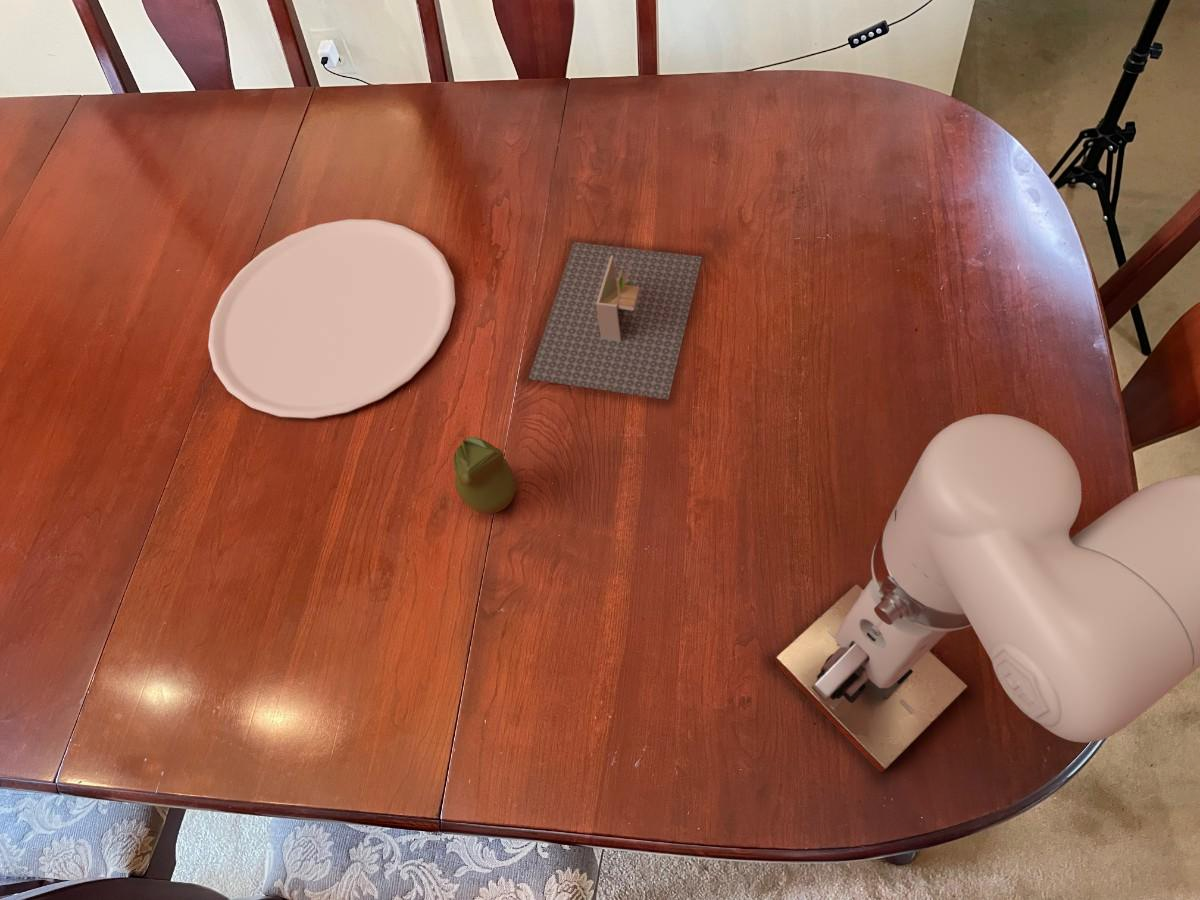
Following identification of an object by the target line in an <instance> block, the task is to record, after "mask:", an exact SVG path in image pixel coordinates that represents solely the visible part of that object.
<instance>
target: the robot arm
mask: <svg viewBox="0 0 1200 900" xmlns="http://www.w3.org/2000/svg"><path fill="white" fill-rule="evenodd" d="M1082 496H1083V495H1082V482H1081V477H1080V473H1079V470H1078V467H1077V465H1076V463H1075V461H1074V459H1073V457H1072V456H1071V455H1070V453H1069V452H1068V450H1067V448H1065V447H1064V445H1063V444H1062V443H1061V442H1060V441H1059V440H1058V439H1057V438H1056V437H1054V436H1053V435H1052V434H1051V433H1049V431H1047V430H1045V429H1044V428H1042V427H1040V426H1039V425H1037V424H1035V423H1033V422H1031V421H1028V420H1026V419H1023V418H1019V417H1016V416H1014V415H1007V414H1002V413H1001V414H998V413H984V414H976V415H972V416H967V417H964V418H962V419H959V420H957V421H955V422H952V423H951V424H949V425H948V426H946V427H944V428H943V429H941V431H939V432H938V433H937V434H936V435H934V437H933V438H932V439H931V440H930V442H929V443H928V444H927V446H926V448H925V449H924V451H923V452H922V453H921V456H920V458H919V459H918V461H917V463H916V465H915V467H914V469H913V471H912V473H911V475H910V477H909V479H908V481H907V483H906V484H905V487H904V489H903V490H902V492H901V494H900V496H899V497H898V500H897V502H896V504H895V505H894V508H893V510H892V512H891V514H890V516H889V517H888V518H887V519H888V520H887V521H886V524H885V525H884V528H883V530H882V532H881V534H880V535H879V538H878V539H877V541H876V542H875V545H874V547H873V550H872V554H871V558H870V571H871V577H872V578H871V579H870V581H868V583H867V585H866V586H865V588H864V589H863V591H862V592H861V595H860V596H859V598H858V599H857V601H856V602H855V604H854V605H853V607H852V608H851V610H850V611H849V613H848V614H847V616H846V618H845V619H844V621H843V623H842V624H841V626H840V628H839V630H838V632H837V636H836V643H837V646H838V647H839V646H840V648H839V649H838V650H837V651H836V652H835V653H834V654H831V655H830V656H829V657H828V658H827V660H826V662H825V664H824V665H823V666H822V669H821V673H820V674H818V676H817V678H818V679H817V680H816V683H815V684H814V685H813V686H812V687H811V688H812V689H813V690H814V691H815V692H816V693H817V694H818V695H819V696H820V697H821V698H822V699H823V700H824V701H826V700H828V699H829V698H831V699H832V700H834V699H836V698H837V699H839V698H841V697H842V696H844V697H845V698H846V699H847V700H848V701H849V702H850V703H853V702H854V701H855V700H856V699H857V698H858V697H859V696H860V694H861V693H862V692H863V691H864V689H865V688H866V687H865V686H866V684H865V682H866V681H867V680H868V679H870V680H871V681H872V682H873V683H874V684H875V685H877V686H878V687H879V688H889V687H891V686H892V685H893V684H894V683H896V682H897V681H898V680H899V679H900V678H901V677H902V676H903V675H904V674H905V673H906V672H907V671H909V670H910V669H911V668H912V667H913V666H914V665H915V664H916V663H917V662H918V661H919V660H920V659H921V658H922V657H923V656H924V655H925V654H926V653H927V652H928V651H931V650H932V649H933V648H934V647H935V646H936V645H937V644H938V643H939V642H940V641H941V640H942V639H944V637H945V636H946V635H947V634H948V633H949V632H955V631H960V630H963V629H966V628H969V627H972V628H973V629H972V630H973V631H974V632H975V634H976V636H977V637H978V639H979V641H980V643H981V645H982V646H983V648H984V650H985V652H986V653H987V655H988V658H989V659H990V661H991V664H992V668H993V671H994V674H995V675H996V678H997V680H998V682H999V684H1000V685H1001V687H1002V689H1003V690H1004V692H1005V694H1006V695H1007V696H1008V697H1009V699H1010V700H1011V701H1012V702H1013V704H1014V705H1015V706H1016V707H1017V708H1018V709H1019V710H1020V711H1021V712H1022V713H1023V714H1024V715H1026V716H1027V717H1028V718H1030V719H1031V720H1033V721H1034V722H1036V723H1038V724H1039V725H1040V726H1041V727H1043V728H1044V729H1045V730H1047V731H1049V732H1050V733H1052V734H1054V736H1057V737H1059V738H1062V739H1064V740H1067V741H1069V742H1074V743H1083V744H1088V743H1095V742H1099V741H1102V740H1105V739H1108V738H1110V737H1112V736H1114V735H1115V734H1117V733H1118V732H1120V731H1122V730H1124V729H1125V728H1126V727H1127V726H1129V725H1130V724H1131V723H1133V722H1134V721H1135V720H1136V719H1138V718H1139V717H1140V716H1142V715H1143V714H1144V713H1145V712H1146V711H1148V710H1149V709H1150V708H1151V707H1153V706H1154V705H1155V704H1156V703H1157V702H1159V700H1161V699H1162V698H1163V697H1165V696H1166V695H1167V694H1168V693H1169V692H1171V691H1172V690H1173V689H1174V688H1176V686H1178V685H1180V683H1181V682H1183V681H1184V680H1185V679H1186V678H1187V677H1189V676H1190V675H1191V674H1192V673H1194V672H1195V671H1196V670H1197V669H1198V668H1200V473H1196V474H1186V475H1180V476H1176V477H1172V478H1171V477H1170V478H1167V479H1163V480H1159V481H1156V482H1154V483H1151V484H1149V485H1147V486H1145V487H1143V488H1141V489H1139V490H1137V491H1135V492H1134V493H1132V494H1131V495H1129V496H1128V497H1126V498H1125V499H1123V500H1122V501H1121V502H1119V503H1118V504H1117V505H1115V506H1113V507H1112V508H1110V509H1109V510H1107V511H1106V512H1105V513H1103V514H1102V515H1101V516H1099V517H1097V518H1096V519H1095V520H1093V522H1091V523H1089V524H1088V525H1087V526H1085V527H1084V528H1083V529H1082V530H1080V531H1079V532H1078V533H1076V534H1074V535H1073V536H1072V537H1070V531H1071V529H1072V527H1073V525H1074V524H1075V522H1076V520H1077V517H1078V515H1079V511H1080V508H1081V503H1082ZM859 667H861V668H862V669H863V670H864V671H863V672H862V673H861V675H860V676H858V675H857V674H856V673H855V671H856V670H857V669H858V668H859Z"/></svg>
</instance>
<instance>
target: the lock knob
mask: <svg viewBox="0 0 1200 900" xmlns="http://www.w3.org/2000/svg"><path fill="white" fill-rule="evenodd" d="M857 671H858V672H859V673H860V674H861V673H862V672H863V671H864V670H863V669H862V668H861V667H859V668H858V669H857ZM912 673H913V670H911V669H910V670H909V671H907V672H906V673H905V674H904V675H903V676H902V677H901V678H900V679H899V680H898V681H897V682H896V683H894V684H893V685H892V686H891V687H889V688H879V687H878V686H877V685H875V684H874V683H873V682H872V681H871V680H870V679H868V680H867V681H868V682H869V683H870V684H871V685H873V686H874V687H875V688H876V689H877V690H878V691H879V692H880V693H881V694H882V695H883V696H884V697H885V698H886V699H889V698H890V697H891V696H892V695H893V694H894V693H895V692H896V691H897V690H898V689H899V688H900V687H901V686H902V684H903V683H904V682H905V681H906V680H907V679H908V677H909V676H910V675H911V674H912Z"/></svg>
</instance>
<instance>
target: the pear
mask: <svg viewBox="0 0 1200 900" xmlns="http://www.w3.org/2000/svg"><path fill="white" fill-rule="evenodd" d="M453 467H454V468H453V469H454V472H455V476H454V483H455V484H454V485H455V488H456V491H457V493H458V495H459V497H460V498H461V499H462V501H463V502H464V503H465V504H466V505H467V506H468V507H469V508H470V509H472V510H473V511H475V512H477V513H479V514H483V515H493V514H497V513H499V512H502V511H503V510H505V509H506V508H507V507H508V506H509V505H510V504H511V503H512V501H513V500H514V498H515V495H516V492H517V482H516V477H515V474H514V471H513V469H512V467H511V466H510V464H509V462H508V461H507V460H506V458H505V454H504V452H503V451H502V450H501V449H500V448H497V447H495V446H494V445H493V444H492V443H490V442H489V441H486V440H485V439H481V438H480V437H479V436H470V437H467V438H466V439H463V440H462V443H461V444H460V445H459V446H458V447H457V448H456V450H455V452H454V456H453Z"/></svg>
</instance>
